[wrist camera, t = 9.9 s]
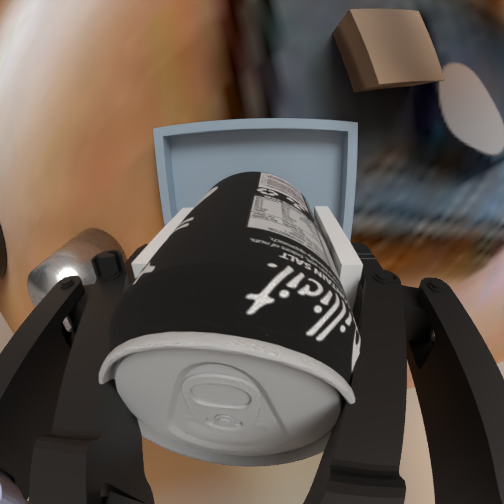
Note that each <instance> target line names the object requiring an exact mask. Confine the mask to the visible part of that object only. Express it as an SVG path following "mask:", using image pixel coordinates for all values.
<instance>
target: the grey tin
mask: <svg viewBox="0 0 504 504" xmlns="http://www.w3.org/2000/svg"><path fill="white" fill-rule="evenodd" d="M107 250H119V251H121V252H122V256H123V260H124V263H125V262H126V261H127V258H126V255H125V253H124V251H123V249H122V247H121V246H120V244H119V243H118V242H117V241H116V240H115V239H114V238H113V237H112V236H111V235H110V234H108V233H107V232H105V231H103V230H100V229H96V228H90V229H86V230H84V231H82V232H81V233H80V234H78V235H77V236H75V237H74V238H73V239H71V240H70V241H69V242H67V243H66V244H65V245H63V246H62V247H61V248H60V249H58V250H57V251H56V252H54V253H53V254H52V255H51V256H49V257H48V258H47V259H46V260H45V261H43V262H42V263H41V264H40V265H38V266H37V267H36V268H35V269H34V270H33V271H31V273H30V274H29V276H28V281H27V286H28V291H29V295H30V298H31V300H32V302H33V304H34V306H35V307H36V306H37V305H38V304H39V303H40V301H41V300H42V299H43V298H44V297H45V296H46V294H47V293H48V292H49V291H50V290H51V289H52V288H53V287H54V285H55V284H56V283H57V282H59V281H60V280H61V279H63V278H64V277H66V276H73V275H75V276H79V277H80V278H81V281H82V283H83V285H89V284H95V281H96V279H97V278H96V275H95V272H94V269H93V265H92V262H91V259H92V258H93V257H94V256H95V255H97V254H99V253H101V252H103V251H107ZM63 324H64V326H65V328H66V330H67V331H69V330H70V329H71V326H70V324H69V322H68V320H67V318H65V319H64V321H63Z"/></svg>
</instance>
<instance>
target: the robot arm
mask: <svg viewBox="0 0 504 504" xmlns="http://www.w3.org/2000/svg"><path fill="white" fill-rule="evenodd" d="M193 208H194V207H190V208H182V209H181V210H180V211H179V212H178V213H177V214H176V215H175V216H174V217H173V219H172V220H171V221H170V222H169V223H168V224H167V225H166V226H165V227H164V228H163V229H162V230H161V231H160V232H159V233H158V234H157V235H156V237H155V238H154V239H153V240H152V241H151V242H150V243H149V244H145V245H143V246H141V247H140V248H138V249H137V250H136V251H135V252H134V253H133V255H131V256H130V257H129V259H128V260H127V261H126V262H125V263H124V260H123V256H122V252H121V251H119V250H107V251H103V252H101V253H99V254H97V255H95V256H94V257H93V258H92V259H91V262H92V265H93V269H94V272H95V275H96V278H97V279H96V281H95V284H89V285H83V283H82V281H81V278H80V277H79V276H75V275H73V276H66V277H64V278H63V279H61V280H60V281H59V282H57V283H56V284H55V285H54V287H53V288H52V289H51V290H50V291H49V292H48V293H47V294H46V296H45V297H44V298H43V299H42V300H41V301H40V303H39V304H38V305H37V306H36V307H35V309H34V310H33V311H32V312H31V313H30V315H29V316H28V317H27V318H26V320H25V321H24V322H23V324H22V325H21V326H20V327H19V329H18V330H17V331H16V333H15V334H14V335H13V337H12V338H11V340H10V341H9V342H8V344H7V345H6V346H5V348H4V349H3V351H2V352H1V354H0V504H154V498H153V493H152V491H151V488H150V485H149V484H148V482H147V480H146V477H145V473H144V466H143V465H144V464H143V452H142V435H141V430H140V427H139V423H138V420H137V417H136V416H135V415H134V414H133V413H132V412H131V411H130V410H129V409H128V407H127V406H126V404H125V403H124V401H123V400H122V398H121V397H120V395H119V393H118V391H117V388H116V382H115V379H111V380H109V381H108V382H105V383H104V384H100V383H99V372H100V369H101V366H102V364H103V362H104V360H105V359H106V357H107V356H108V354H109V353H110V351H109V338H108V337H109V325H110V320H111V316H112V313H113V311H114V308H115V306H116V304H117V303H118V301H119V300H120V298H121V297H122V296H123V294H124V293H125V292H126V290H127V289H128V288H129V286H130V285H131V284H132V282H133V281H134V280H135V278H136V277H137V276H138V274H139V273H140V272H141V271H142V269H143V268H144V267H145V266H146V264H147V263H148V262H149V260H150V259H151V258H152V257H153V255H154V254H155V253H156V252H157V251H158V249H159V248H160V247H161V246H162V244H163V243H164V242H165V241H166V240H167V238H168V237H169V236H170V235H171V234H172V232H173V231H174V230H175V229H176V228H177V226H178V225H179V224H180V223H181V222H182V221H183V219H184V218H185V217H186V216H187V215H188V214H189V213H190V211H191V210H192V209H193ZM314 217H315V219H316V222H317V224H318V226H319V229H320V231H321V233H322V236H323V238H324V241H325V243H326V246H327V248H328V250H329V253H330V255H331V258H332V260H333V263H334V265H335V268H336V271H337V273H338V276H339V278H340V281H341V284H342V286H343V289H344V292H345V294H346V297H347V300H348V303H349V306H350V308H351V311H352V314H353V316H354V319H355V323H356V326H357V329H358V332H359V335H360V338H361V342H362V349H361V352H360V354H359V356H358V358H357V360H356V362H355V367H354V371H353V375H352V379H351V384H350V387H351V388H352V391H353V393H354V396H355V402H354V403H353V404H349V403H348V402H347V401H346V400H345V399H344V402H343V404H342V406H341V413H340V415H339V417H338V420H337V422H336V424H335V425H334V426H333V428H332V431H331V434H330V436H329V439H328V442H327V444H326V447H325V450H324V453H323V456H322V459H321V461H320V464H319V468H318V470H317V473H316V476H315V478H314V481H313V483H312V486H311V488H310V491H309V493H308V495H307V497H306V499H305V501H304V503H303V504H404V500H405V493H406V485H405V481H404V480H403V479H402V477H400V475H399V465H400V459H401V452H402V444H403V434H404V425H405V424H404V423H405V411H406V391H407V361H408V364H409V367H410V371H411V374H412V378H413V381H414V385H415V388H416V392H417V396H418V400H419V404H420V408H421V413H422V417H423V422H424V426H425V431H426V436H427V442H428V447H429V453H430V459H431V467H432V473H433V483H434V493H435V504H504V379H503V377H502V374H501V372H500V370H499V368H498V366H497V364H496V362H495V360H494V358H493V356H492V354H491V353H490V351H489V349H488V347H487V345H486V343H485V342H484V340H483V338H482V336H481V335H480V333H479V331H478V329H477V328H476V326H475V324H474V323H473V321H472V319H471V318H470V316H469V315H468V313H467V312H466V310H465V308H464V307H463V305H462V304H461V302H460V301H459V299H458V298H457V296H456V295H455V293H454V292H453V291H452V289H451V288H450V287H449V285H448V284H447V283H445V282H443V281H442V280H440V279H438V278H424V279H423V280H421V283H420V286H419V288H414V287H408V286H403V285H401V281H400V279H399V277H398V276H397V275H395V274H394V273H392V272H390V271H386V270H383V269H382V267H381V266H380V264H379V263H378V261H377V260H376V259H375V257H374V255H373V254H372V252H371V251H370V249H369V248H368V247H367V246H365V245H364V244H362V243H350V241H349V240H348V238H347V236H346V235H345V233H344V231H343V230H342V228H341V226H340V225H339V223H338V222H337V220H336V218H335V217H334V215H333V214H332V212H331V211H330V209H329V207H328V206H314ZM5 271H6V251H5V245H4V239H3V235H2V231H1V227H0V280H1V279H2V278H3V276H4V274H5ZM65 318H67V320H68V322H69V324H70V326H71V329H70V330H69V331H67V330H66V328H65V326H64V324H63V321H64V319H65ZM434 334H435V336H434ZM28 497H29V501H27V499H28Z"/></svg>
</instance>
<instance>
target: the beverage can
mask: <svg viewBox="0 0 504 504" xmlns="http://www.w3.org/2000/svg"><path fill="white" fill-rule="evenodd" d="M108 338H109V351H110V353H109V354H108V356H107V357H106V359H105V360H104V362H103V364H102V366H101V369H100V372H99V383H100V384H104V383H105V382H108V381H109V380H111V379H115V382H116V388H117V391H118V393H119V395H120V397H121V398H122V400H123V401H124V403H125V404H126V406H127V407H128V409H129V410H130V411H131V412H132V413H133V414H134V415H135V416H136V417H137V420H138V423H139V427H140V430H141V435H142V436H143V437H144V438H146V439H148V440H149V441H151V442H153V443H155V444H157V445H159V446H161V447H163V448H166V449H168V450H170V451H172V452H175V453H178V454H181V455H184V456H187V457H190V458H193V459H197V460H202V461H206V462H211V463H216V464H222V465H231V466H232V465H233V466H271V465H279V464H286V463H290V462H295V461H299V460H303V459H306V458H308V457H311V456H314V455H316V454H319V453H321V452H323V451H324V450H325V447H326V444H327V442H328V439H329V436H330V434H331V431H332V428H333V426H334V425H335V424H336V422H337V420H338V417H339V415H340V413H341V406H342V404H343V402H344V399H345V400H346V401H347V402H348V403H349V404H353V403H354V402H355V396H354V393H353V391H352V388H351V387H350V384H351V379H352V375H353V371H354V367H355V362H356V360H357V358H358V356H359V354H360V352H361V349H362V342H361V338H360V335H359V332H358V329H357V326H356V323H355V320H354V317H353V314H352V311H351V308H350V306H349V303H348V300H347V297H346V294H345V292H344V289H343V286H342V284H341V281H340V278H339V276H338V273H337V271H336V268H335V265H334V263H333V260H332V258H331V255H330V253H329V250H328V248H327V246H326V243H325V241H324V238H323V236H322V233H321V231H320V229H319V226H318V224H317V222H316V219H315V217H314V215H313V213H312V210H311V208H310V206H309V204H308V202H307V200H306V199H305V197H304V196H303V195H302V193H301V192H300V191H299V190H298V189H297V188H296V187H295V186H294V185H292V184H291V183H289V182H288V181H286V180H285V179H283V178H281V177H278V176H276V175H273V174H270V173H265V172H256V171H251V172H242V173H238V174H234V175H231V176H229V177H227V178H225V179H223V180H221V181H220V182H218V183H217V184H216V185H214V186H213V187H212V188H211V189H210V190H209V191H208V192H207V193H206V195H205V196H204V197H203V198H202V199H201V200H200V201H199V202H198V203H197V205H196V206H195V207H194V208H193V209H192V210H191V211H190V213H189V214H188V215H187V216H186V217H185V218H184V219H183V221H182V222H181V223H180V224H179V225H178V226H177V228H176V229H175V230H174V231H173V232H172V234H171V235H170V236H169V237H168V238H167V240H166V241H165V242H164V243H163V244H162V246H161V247H160V248H159V249H158V251H157V252H156V253H155V254H154V255H153V257H152V258H151V259H150V260H149V262H148V263H147V264H146V266H145V267H144V268H143V269H142V271H141V272H140V273H139V274H138V276H137V277H136V278H135V280H134V281H133V282H132V284H131V285H130V286H129V288H128V289H127V290H126V292H125V293H124V294H123V296H122V297H121V298H120V300H119V301H118V303H117V304H116V306H115V308H114V311H113V313H112V316H111V320H110V325H109V337H108Z"/></svg>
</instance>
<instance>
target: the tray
mask: <svg viewBox="0 0 504 504" xmlns="http://www.w3.org/2000/svg"><path fill="white" fill-rule="evenodd" d="M153 131H154V143H155V154H156V164H157V174H158V182H159V190H160V198H161V205H162V212H163V219H164V225H165V226H166V225H167V224H168V223H169V222H170V221H171V220H172V219H173V217H174V216H175V215H176V214H177V213H178V212H179V211H180V210H181V209H182V208H190V207H195V206H196V205H197V203H198V202H199V201H200V200H201V199H202V198H203V197H204V196H205V195H206V193H207V192H208V191H209V190H210V189H211V188H212V187H213V186H214V185H216V184H217V183H218V182H220V181H221V180H223V179H225V178H227V177H229V176H231V175H234V174H238V173H242V172H251V171H256V172H265V173H270V174H273V175H276V176H278V177H281V178H283V179H285V180H286V181H288V182H289V183H291V184H292V185H294V186H295V187H296V188H297V189H298V190H299V191H300V192H301V193H302V195H303V196H304V197H305V199H306V200H307V202H308V204H309V206H310V208H311V210H312V213H313V215H314V206H328V207H329V209H330V211H331V212H332V214H333V215H334V217H335V218H336V220H337V222H338V223H339V225H340V226H341V228H342V230H343V231H344V233H345V235H346V236H347V238H348V240H349V241H350V238H351V230H352V221H353V210H354V199H355V186H356V170H357V146H358V122H348V121H336V120H321V119H296V118H259V119H234V120H219V121H207V122H197V123H188V124H180V125H172V126H165V127H159V128H153Z"/></svg>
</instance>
